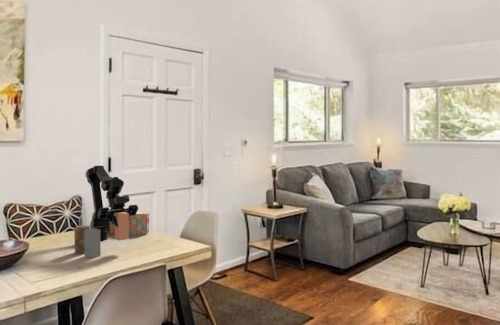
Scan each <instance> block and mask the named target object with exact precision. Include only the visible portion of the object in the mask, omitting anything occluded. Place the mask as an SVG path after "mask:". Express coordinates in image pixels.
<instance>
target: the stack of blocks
mask: <svg viewBox="0 0 500 325" xmlns="http://www.w3.org/2000/svg"><path fill="white" fill-rule="evenodd" d="M148 232H149V233H150V212H148V211H147V212H146V211H145V212H144V211H137V213H136V215H133V216H130V217H129V236H130V235H133V236H134V235H136V236H137V235H139V234H147V233H148ZM149 233H148V234H149ZM148 234H147V235H148ZM109 235H110V236H111V235H112V236H113V235H114V236H115V225H114V224H113V223H112V222H110V233H109ZM139 236H140V235H139Z"/></svg>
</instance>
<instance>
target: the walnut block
mask: <svg viewBox="0 0 500 325" xmlns="http://www.w3.org/2000/svg"><path fill="white" fill-rule="evenodd" d="M87 229H90V225H78V226H75V227H74V254H75V255H76V254H77V255H78V254H81V255H85V230H87Z"/></svg>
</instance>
